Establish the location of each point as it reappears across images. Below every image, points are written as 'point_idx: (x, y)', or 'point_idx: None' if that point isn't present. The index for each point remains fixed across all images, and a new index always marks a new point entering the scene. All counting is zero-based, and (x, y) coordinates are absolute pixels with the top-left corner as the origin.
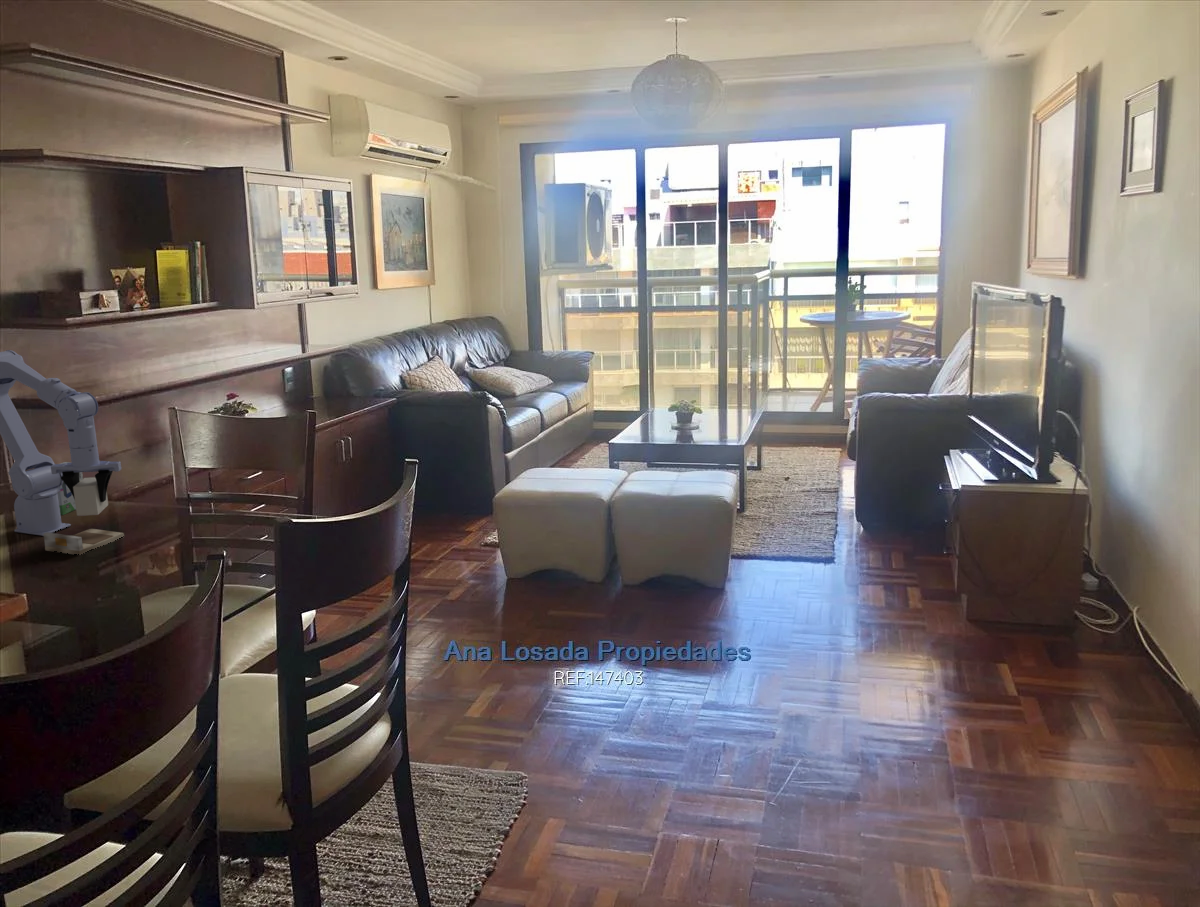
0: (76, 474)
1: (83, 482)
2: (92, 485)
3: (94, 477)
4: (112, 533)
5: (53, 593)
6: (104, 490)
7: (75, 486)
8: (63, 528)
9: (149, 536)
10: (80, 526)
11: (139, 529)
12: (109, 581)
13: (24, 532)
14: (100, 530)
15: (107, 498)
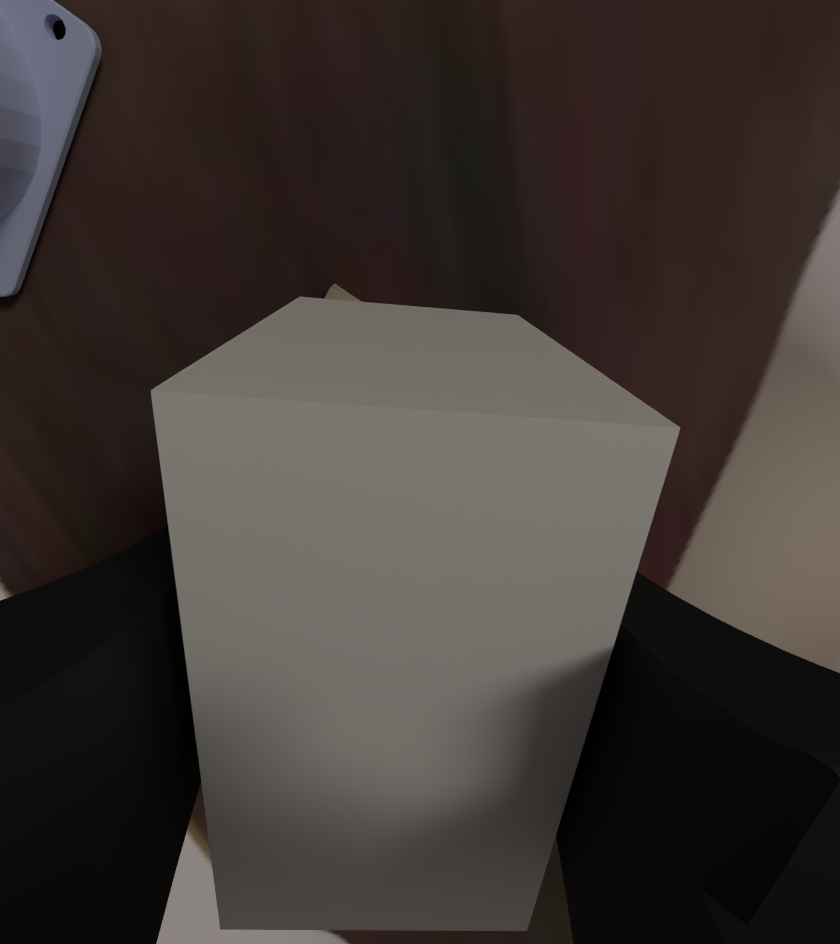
0: (55, 901)
1: (296, 761)
2: (497, 911)
3: (424, 421)
4: None
5: (391, 930)
6: None
7: (249, 919)
8: (75, 127)
9: (712, 464)
10: (191, 64)
11: (662, 298)
12: (548, 888)
13: None
14: None
15: (535, 329)
